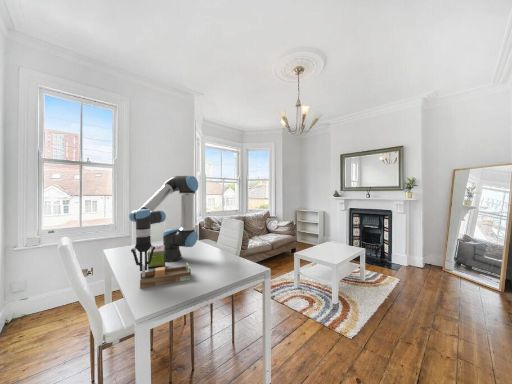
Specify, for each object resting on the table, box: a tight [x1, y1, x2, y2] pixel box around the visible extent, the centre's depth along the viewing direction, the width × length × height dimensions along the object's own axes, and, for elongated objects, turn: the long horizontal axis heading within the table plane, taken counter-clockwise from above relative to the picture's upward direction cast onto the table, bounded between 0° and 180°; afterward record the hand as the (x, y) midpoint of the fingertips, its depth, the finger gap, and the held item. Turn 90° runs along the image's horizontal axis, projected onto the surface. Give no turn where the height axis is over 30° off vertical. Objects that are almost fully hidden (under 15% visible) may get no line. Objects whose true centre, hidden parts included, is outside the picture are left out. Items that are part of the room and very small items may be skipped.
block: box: [155, 267, 166, 277], centre depth 131 cm, size 5×5×4 cm
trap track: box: [139, 262, 192, 289], centre depth 131 cm, size 12×27×6 cm, turn 116°
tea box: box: [147, 245, 166, 272], centre depth 147 cm, size 15×10×15 cm, turn 21°
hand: (143, 276), depth 127 cm, fingers closed
